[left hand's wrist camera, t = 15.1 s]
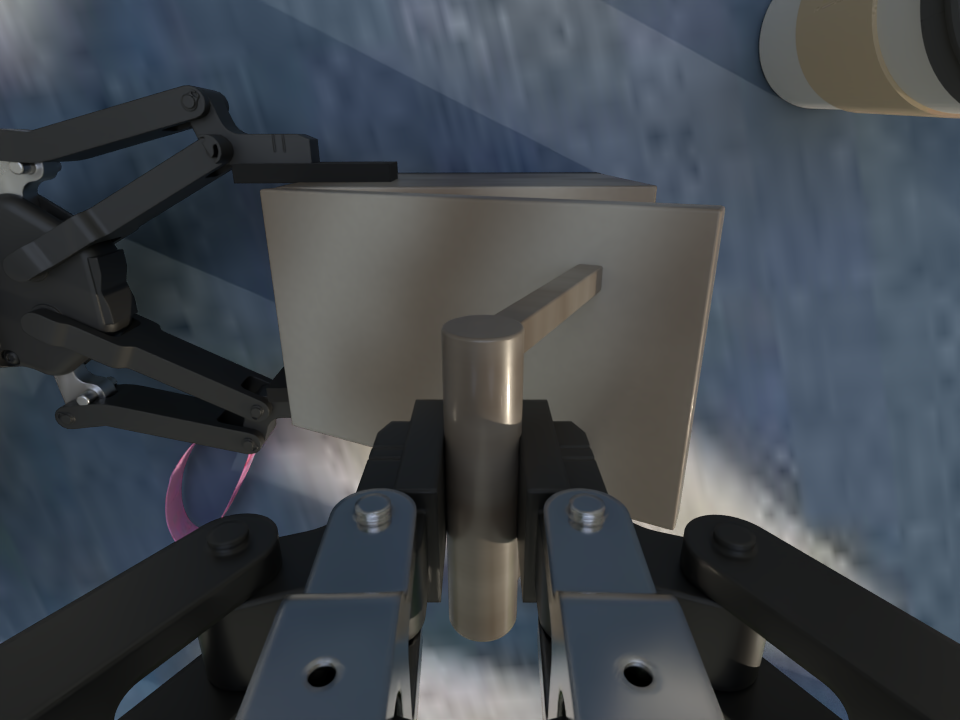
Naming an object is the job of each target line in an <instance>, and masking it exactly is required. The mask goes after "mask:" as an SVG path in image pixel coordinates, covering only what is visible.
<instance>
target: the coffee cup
mask: <svg viewBox="0 0 960 720" xmlns="http://www.w3.org/2000/svg"><path fill="white" fill-rule="evenodd" d="M759 53H760V61H761V66H762V70H763V72H764V75H765V77H766V79H767V81H768V83H769V85H770V86H771V88H772V89H773V90H774V91H775V92H776V93H777V94H778V95H779V96H780V97H781V98H782V99H784V100H785V101H787V102H789V103H791V104H793V105H795V106H799V107H803V108H814V109H841V110H845V111H849V112H855V113H871V114H889V115H907V116H925V117H943V118H960V0H772V2H771V4H770V6H769V8H768V10H767V12H766V15H765V17H764V20H763V24H762V28H761V33H760V41H759Z"/></svg>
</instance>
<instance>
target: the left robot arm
mask: <svg viewBox="0 0 960 720" xmlns="http://www.w3.org/2000/svg"><path fill="white" fill-rule="evenodd" d="M446 534H447V520H446V484H445V448H444V418H443V399H416V401H415V404H414V408H413V412H412V416H411V420H410V421H391V422H390V423H389V424H387V425H386V426H385V427H384V428H383V429H381V430H380V431H379V432H378V433H377V436H376V438H375V441H374V444H373V448H372V450H371V452H370V455H369V460H368V461H367V464H366V466H365V469H364V472H363V475H362V477H361V480H360V483H359V486H358V489H357V491H356V493H354V494H351V495H349V496H347V497H345V498H344V499H342V500H341V501H340V502H339V503H338V504H336V506H335V507H334V508H333V510H332V512H331V514H330V517H329V520H328V522H327V525H325V526H323V527H320V528H317V529H314V530H310V531H306V532H302V533H297V534H292V535H287V536H283V537H279V535H278V529H277V526H276V524H275V523H274V522H273V521H272V520H271V519H269V518H268V517H265V516H262V515H258V514H236V515H230V516H226V517H222V518H219V519H216V520H214V521H211V522H209V523H207V524H205V525H203V526H201V527H199V528H198V529H196V530H194V531H193V532H191V533H189V534H187V535H186V536H184V537H182V538H181V539H179V540H177V541H176V542H174V543H172V544H170V545H169V546H167V547H165V548H164V549H162V550H160V551H158V552H157V553H155V554H153V555H152V556H150V557H148V558H146V559H145V560H143V561H141V562H140V563H138V564H136V565H135V566H133V567H131V568H129V569H128V570H126V571H124V572H123V573H121V574H119V575H117V576H116V577H114V578H112V579H111V580H109V581H107V582H105V583H104V584H102V585H100V586H99V587H97V588H95V589H93V590H92V591H90V592H88V593H87V594H85V595H83V596H82V597H80V598H78V599H76V600H75V601H73V602H71V603H70V604H68V605H66V606H64V607H63V608H61V609H59V610H58V611H56V612H54V613H52V614H51V615H49V616H47V617H46V618H44V619H42V620H40V621H39V622H37V623H35V624H34V625H32V626H30V627H29V628H27V629H25V630H23V631H22V632H20V633H18V634H17V635H15V636H13V637H11V638H10V639H8V640H6V641H5V642H3V643H1V644H0V720H114V717H115V713H116V710H117V708H118V706H119V704H120V702H121V700H122V699H123V697H124V696H125V695H126V694H127V692H128V691H129V690H130V689H131V688H132V687H133V686H134V685H135V684H136V683H138V682H139V681H140V680H141V679H143V678H144V677H145V676H147V675H148V674H149V673H151V672H152V671H153V670H155V669H156V668H157V667H159V666H160V665H161V664H163V663H164V662H165V661H167V660H168V659H169V658H171V657H172V656H173V655H175V654H176V653H177V652H179V651H180V650H181V649H183V648H184V647H185V646H187V645H188V644H189V643H191V642H192V641H193V640H195V639H196V638H197V637H198V640H199V644H200V648H201V652H202V654H201V655H200V656H198V657H197V658H196V659H195V660H193V661H192V662H191V663H189V664H188V665H187V666H186V667H184V668H183V669H182V670H181V671H179V672H178V673H177V674H175V675H174V676H173V677H172V678H170V679H169V680H168V681H166V682H165V683H164V684H163V685H161V686H160V687H159V688H158V689H156V690H155V691H154V692H152V693H151V694H150V695H149V696H147V697H146V698H145V699H143V700H142V701H141V702H140V703H138V704H137V705H136V706H135V707H133V708H132V709H131V710H129V711H128V712H127V713H126V714H124V715H123V716H122V717H121V718H119V719H118V720H417V715H418V701H419V686H420V672H421V657H422V643H423V636H422V626H423V623H424V620H425V615H426V606H427V602H441V593H442V581H443V569H444V558H445V546H446ZM517 544H518V555H519V566H520V576H521V587H522V598H523V602H537V607H538V615H539V616H538V637H537V642H538V657H539V671H540V686H541V700H542V715H543V720H842V719H841V718H840V717H838V716H837V715H836V714H834V713H833V712H832V711H831V710H829V709H828V708H827V707H825V706H824V705H823V704H822V703H820V702H819V701H818V700H817V699H815V698H814V697H813V696H811V695H810V694H809V693H808V692H806V691H805V690H804V689H802V688H801V687H800V686H799V685H797V684H796V683H795V682H794V681H792V680H791V679H790V678H788V677H787V676H786V675H785V674H783V673H782V672H781V671H780V670H778V669H777V668H776V667H774V666H773V665H772V664H771V663H769V662H768V661H767V660H765V659H764V658H763V657H762V655H763V651H764V647H765V642H766V640H767V641H768V642H769V643H771V644H772V645H773V646H775V647H776V648H777V649H779V650H780V651H781V652H783V653H784V654H785V655H787V656H788V657H789V658H791V659H792V660H793V661H795V662H796V663H797V664H799V665H800V666H801V667H803V668H804V669H805V670H807V671H808V672H809V673H811V674H812V675H813V676H815V677H816V678H817V679H819V680H820V681H821V682H823V683H824V684H825V685H826V686H828V687H829V688H830V689H831V690H832V691H833V692H834V693H835V694H836V696H837V697H838V698H839V699H840V701H841V702H842V704H843V706H844V707H845V709H846V712H847V714H848V717H849V720H960V644H959V643H957V642H955V641H954V640H952V639H950V638H949V637H947V636H945V635H943V634H942V633H940V632H938V631H937V630H935V629H933V628H932V627H930V626H928V625H926V624H925V623H923V622H921V621H920V620H918V619H916V618H914V617H913V616H911V615H909V614H908V613H906V612H904V611H902V610H901V609H899V608H897V607H896V606H894V605H892V604H890V603H889V602H887V601H885V600H884V599H882V598H880V597H879V596H877V595H875V594H873V593H872V592H870V591H868V590H867V589H865V588H863V587H861V586H860V585H858V584H856V583H855V582H853V581H851V580H849V579H848V578H846V577H844V576H843V575H841V574H839V573H837V572H836V571H834V570H832V569H831V568H829V567H827V566H826V565H824V564H822V563H820V562H819V561H817V560H815V559H814V558H812V557H810V556H808V555H807V554H805V553H803V552H802V551H800V550H798V549H796V548H795V547H793V546H791V545H790V544H788V543H786V542H784V541H783V540H781V539H779V538H778V537H776V536H774V535H773V534H771V533H769V532H767V531H766V530H764V529H762V528H760V527H759V526H757V525H755V524H753V523H750V522H748V521H745V520H742V519H739V518H735V517H731V516H725V515H705V516H701V517H698V518H695V519H693V520H692V521H690V522H689V523H688V524H687V526H686V528H685V531H684V537H681V536H676V535H672V534H667V533H662V532H657V531H654V530H650V529H647V528H644V527H641V526H639V525H637V524H634V523H633V522H632V519H631V517H630V514H629V512H628V510H627V508H626V507H625V506H624V504H622V503H621V502H620V501H619V500H618V499H616V498H615V497H613V496H611V495H609V494H608V492H607V490H606V487H605V484H604V482H603V479H602V476H601V473H600V471H599V468H598V465H597V463H596V460H594V454H593V452H592V449H590V444H589V441H588V438H587V436H586V433H585V432H584V431H583V430H582V429H580V428H579V427H578V426H577V425H576V424H574V423H573V422H572V421H553V419H552V416H551V412H550V408H549V404H548V401H547V399H523V404H522V434H521V436H520V446H519V481H518V516H517Z"/></svg>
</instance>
